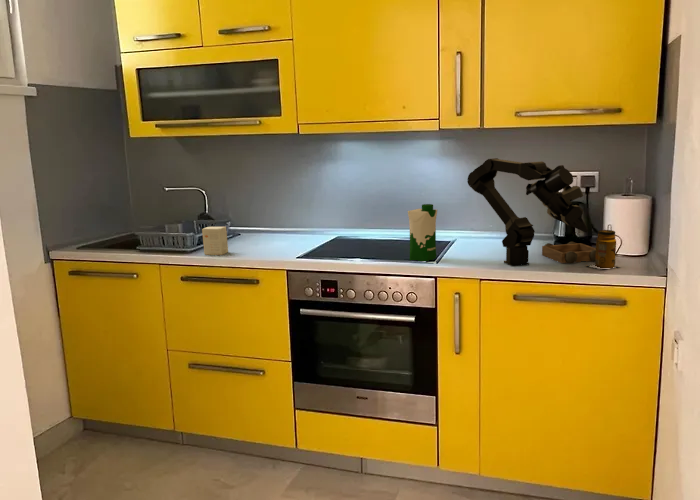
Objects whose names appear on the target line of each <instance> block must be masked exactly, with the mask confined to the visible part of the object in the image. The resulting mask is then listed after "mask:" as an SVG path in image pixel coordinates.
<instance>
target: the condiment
mask: <svg viewBox="0 0 700 500" xmlns="http://www.w3.org/2000/svg"><path fill="white" fill-rule="evenodd" d="M595 241H596V242H595V248H596V258H595V261H594V264H596V265H595V266H597V267H600V268H613V267H615V266H616V254H617V253H616V251H617V239H616V231H615V230H611V229H601V230H598V231H597V238H596V240H595ZM588 265H589V266H590V265H591V264H586V265H585V267H586V266H588Z"/></svg>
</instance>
